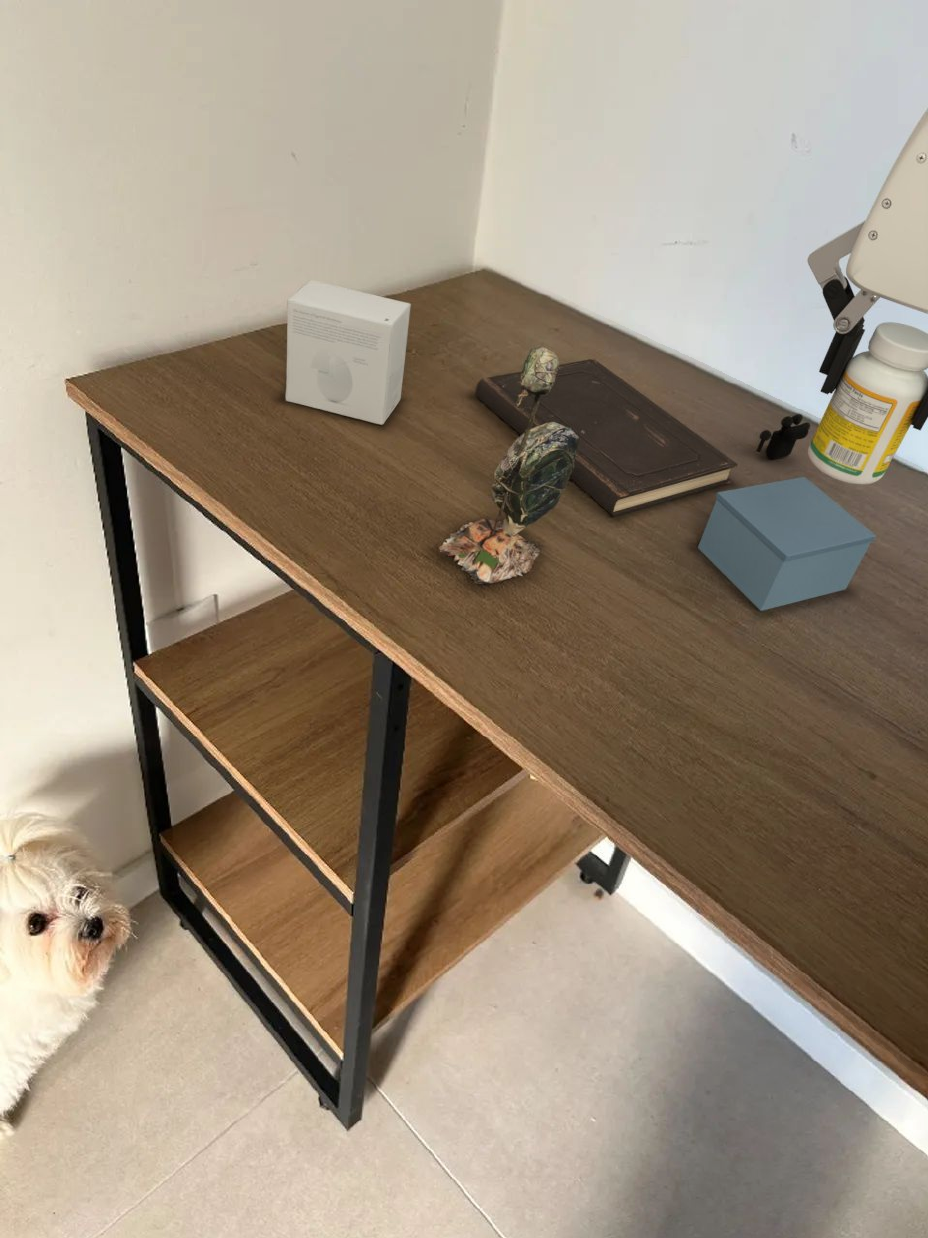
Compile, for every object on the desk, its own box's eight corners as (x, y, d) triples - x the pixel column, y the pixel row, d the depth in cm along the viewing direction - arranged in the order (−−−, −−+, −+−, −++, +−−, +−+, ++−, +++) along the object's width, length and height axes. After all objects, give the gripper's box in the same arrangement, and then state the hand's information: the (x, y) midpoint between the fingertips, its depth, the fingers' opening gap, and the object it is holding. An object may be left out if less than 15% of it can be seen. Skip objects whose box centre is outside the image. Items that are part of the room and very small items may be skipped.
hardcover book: (589, 376, 107) (593, 357, 105) (730, 483, 93) (738, 463, 92) (473, 398, 99) (477, 378, 97) (609, 518, 86) (616, 497, 84)
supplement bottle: (823, 484, 62) (887, 351, 56) (794, 441, 66) (851, 313, 60) (896, 489, 63) (967, 359, 57) (862, 446, 67) (925, 320, 61)
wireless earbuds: (794, 448, 101) (812, 407, 97) (810, 460, 99) (829, 419, 96) (747, 457, 98) (764, 415, 94) (763, 470, 96) (780, 428, 93)
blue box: (847, 590, 82) (877, 535, 78) (760, 612, 78) (787, 556, 74) (779, 529, 88) (804, 476, 84) (695, 547, 84) (717, 492, 80)
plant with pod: (580, 563, 80) (643, 345, 67) (470, 597, 74) (515, 367, 61) (526, 511, 84) (575, 298, 71) (419, 539, 79) (451, 314, 66)
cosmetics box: (402, 398, 97) (413, 300, 90) (382, 427, 92) (392, 326, 85) (307, 373, 98) (310, 275, 91) (283, 400, 93) (285, 299, 86)
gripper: (1196, 136, 49) (1014, 433, 61) (881, 54, 55) (770, 341, 67) (1195, 159, 44) (997, 478, 56) (848, 66, 50) (735, 374, 62)
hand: (875, 401), depth 61 cm, fingers closed on supplement bottle, 5 cm apart
